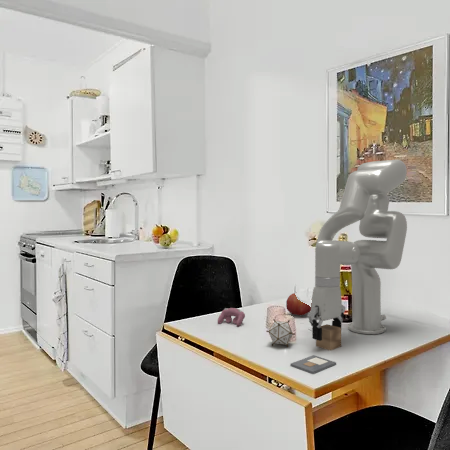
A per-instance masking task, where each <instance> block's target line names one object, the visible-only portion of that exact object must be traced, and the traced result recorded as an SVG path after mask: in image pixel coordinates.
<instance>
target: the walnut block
mask: <svg viewBox="0 0 450 450" xmlns="http://www.w3.org/2000/svg"><path fill="white" fill-rule="evenodd" d="M321 328H322V340H321V341H319V340H315V347H317V348H321V349H324V350H327V351H333V350H336V349H338V348H340V347H342V327H341V328H340V327H336V326H332V324H322V325H321Z"/></svg>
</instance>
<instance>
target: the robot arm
mask: <svg viewBox="0 0 450 450" xmlns="http://www.w3.org/2000/svg"><path fill="white" fill-rule="evenodd" d="M407 172H408V170H407V166H406V164H405V162H404V161H402V160H401V159H387V160H378V161H377V160H376V161H368V162H363V163H361V164H360V165H358V167H357V170H355V171H352V172H351V173H350V174H349V175H348V177H347V181H346V183H345V187H344V191H343V195H342V198H341V200H340V205H339V208H338V210H337V211H336V212H335V213H334V214H333V215H331V216H330V217H329V218H328V219H327V220H326V222H325V223H324V224H322V227H320V231H319V234H318V236H317V241H316V243H315V249H314V250H315V251H314V252H315V256H314V257H315V259H314V263H315V264H314V269H315V271H314V276H315V277H314V287H313V289H312V290H313V291H312V294H311V300H312V303H311V311H310V312H309V313H307V318H308V320H309V321H308V322H309V323H310V326H311V327H312V329H311V330H312V331H311V332H312V334H311V336H312V339H313V340H315V341H316V340H319V341H321V340H322V328H321V326H323V323H324V321H325V322H326V321H329V320H331V325H332V326H336V327H340V328H341V329H342V323H343V320H344V319H343V318H344V316H345V311H346V306H345V305H343V303H342V301H343V300H342V291H341V265H343V266H344V265H346V266H350V267H351V268H350V269H351V297H352V299H351V302H352V303H351V307H352V308H351V309H352V310H351V311H352V313H351V315H352V317H351V318H352V319H351V320H352V322H350V323H348V325H347V329H348V330H349V331H351V332H353V333H356V334H363V335H378V334H382V333H385V332H386V329H387V327H386V326H385V325H384V324H382V322H383V321H385V320H386V319H387V315H385V314H381V310H382V309H381V307H382V305H381V304H382V303H381V302H382V301H381V296H382V295H381V290H382V289H381V287H382V286H381V285H382V284H381V283H382V282H381V278H380V275H379V272H377V270H376V269H382V270H395V269H398V267H399V266H400V264H401V261H402V258H403V253H404V247H405V244H406V243H405V242H406V237H407V230H408V221H407V219H406V216H405V214H403V212H400V211H395V210H391V211H390V210H389V204H390V198H389V196H388V195H387V194H389V193H390V192H392V191H394V190H395V189H396V188H397V187H399V186H400V185H401V184H403V183H404V181H406V178H407ZM357 222H359V226H358V231H359V233H360V235H361V236H363V237H365V238H371V239H358V240H355V241H354V242H353V241H349V240H348V241H347V240H346V241H345V240H333V239H334V238H335V236H336V234H337V233H338V232H340V231H341V230H342V229H344V228H347V227H349V226H350V225H352V224H355V223H357ZM374 239H386V240H374ZM332 319H333V320H332Z"/></svg>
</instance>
